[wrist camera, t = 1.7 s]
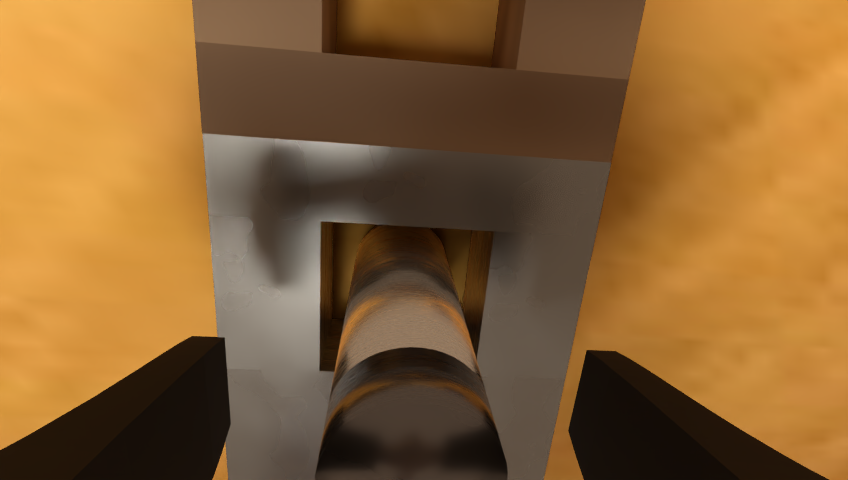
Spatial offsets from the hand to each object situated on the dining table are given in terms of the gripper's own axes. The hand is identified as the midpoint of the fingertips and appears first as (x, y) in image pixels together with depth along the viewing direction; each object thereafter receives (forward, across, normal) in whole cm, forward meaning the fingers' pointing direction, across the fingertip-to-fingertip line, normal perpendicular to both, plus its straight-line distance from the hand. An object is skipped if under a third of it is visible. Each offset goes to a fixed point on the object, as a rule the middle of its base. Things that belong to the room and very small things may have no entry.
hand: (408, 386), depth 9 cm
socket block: (+7, 0, +2) cm, 7 cm away
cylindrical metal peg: (+7, 0, 0) cm, 7 cm away
